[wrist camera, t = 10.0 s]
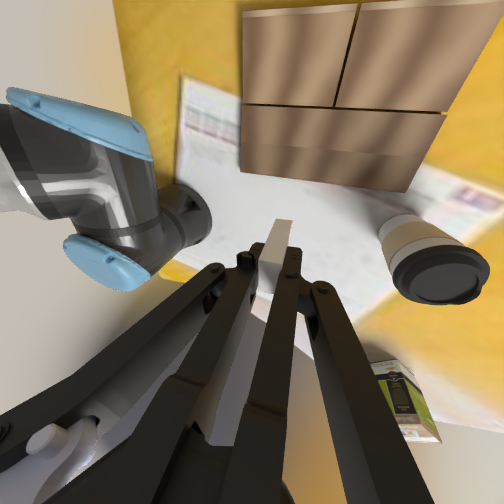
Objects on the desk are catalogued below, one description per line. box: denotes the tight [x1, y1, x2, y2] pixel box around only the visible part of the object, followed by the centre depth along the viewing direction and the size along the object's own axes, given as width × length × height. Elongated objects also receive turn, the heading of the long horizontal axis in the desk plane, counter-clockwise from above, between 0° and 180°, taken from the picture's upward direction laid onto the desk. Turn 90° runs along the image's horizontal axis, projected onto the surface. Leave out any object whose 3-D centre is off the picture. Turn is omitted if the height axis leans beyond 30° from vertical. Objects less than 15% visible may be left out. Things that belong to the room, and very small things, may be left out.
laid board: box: [240, 105, 447, 193], centre depth 29 cm, size 28×10×1 cm, turn 87°
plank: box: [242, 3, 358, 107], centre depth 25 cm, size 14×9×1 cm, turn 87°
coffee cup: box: [378, 214, 490, 305], centre depth 27 cm, size 9×9×15 cm
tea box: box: [370, 360, 442, 444], centre depth 51 cm, size 15×10×15 cm
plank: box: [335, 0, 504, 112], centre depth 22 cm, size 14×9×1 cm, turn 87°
